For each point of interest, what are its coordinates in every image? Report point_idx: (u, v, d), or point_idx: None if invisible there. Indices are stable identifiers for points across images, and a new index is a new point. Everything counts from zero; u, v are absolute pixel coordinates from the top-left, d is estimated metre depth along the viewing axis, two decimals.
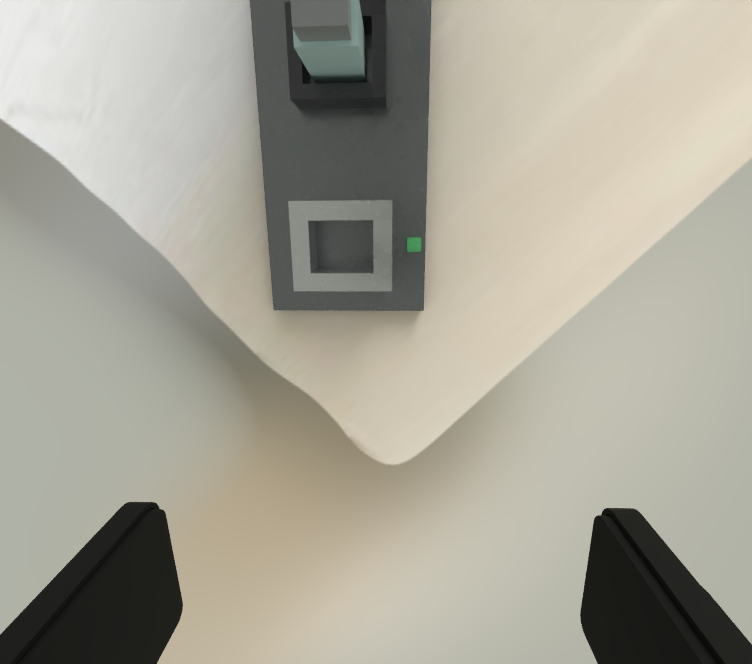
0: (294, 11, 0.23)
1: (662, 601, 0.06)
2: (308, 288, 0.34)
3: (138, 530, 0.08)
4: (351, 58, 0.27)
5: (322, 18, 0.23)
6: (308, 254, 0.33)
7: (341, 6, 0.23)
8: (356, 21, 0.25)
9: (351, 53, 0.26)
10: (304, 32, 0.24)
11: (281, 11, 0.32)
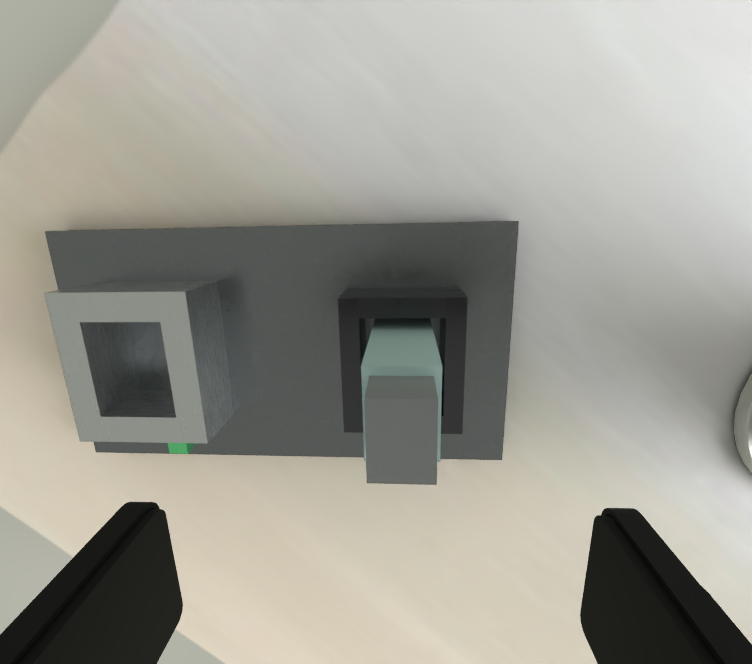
0: (387, 403, 0.13)
1: (662, 601, 0.06)
2: (54, 317, 0.20)
3: (138, 530, 0.08)
4: None
5: (376, 447, 0.14)
6: (108, 320, 0.20)
7: (393, 475, 0.14)
8: None
9: None
10: None
11: (472, 268, 0.22)
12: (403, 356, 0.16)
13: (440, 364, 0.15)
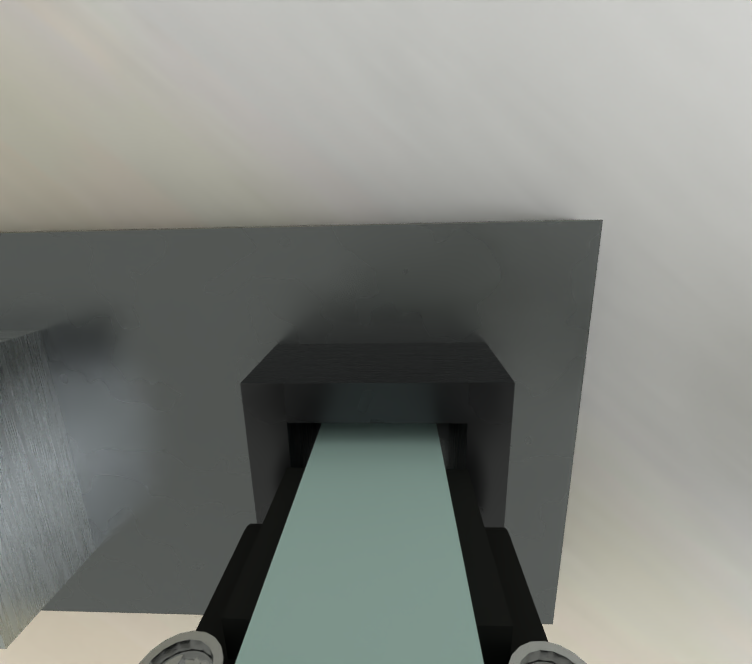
0: None
1: None
2: None
3: None
4: None
5: None
6: None
7: None
8: None
9: None
10: None
11: (511, 309, 0.12)
12: (371, 596, 0.06)
13: (479, 662, 0.05)
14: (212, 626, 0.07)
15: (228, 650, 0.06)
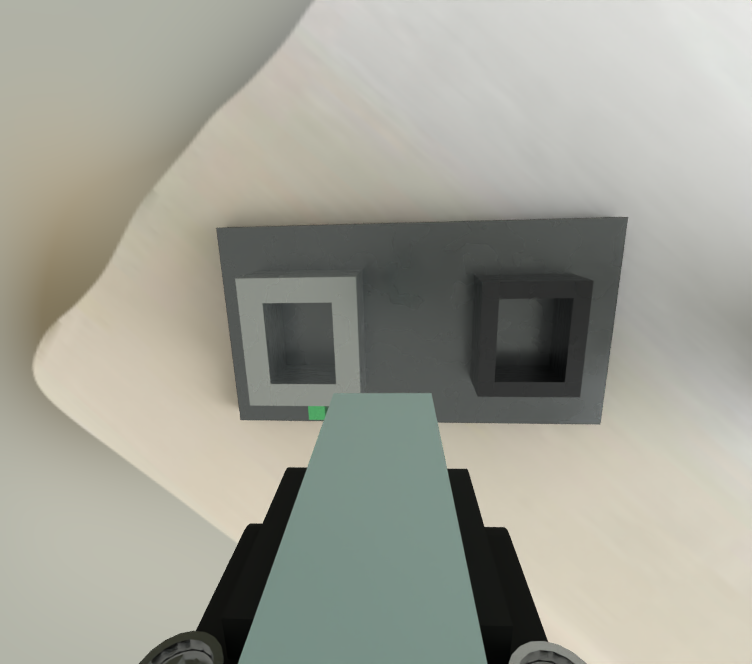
0: None
1: None
2: (241, 299, 0.24)
3: None
4: None
5: None
6: (287, 301, 0.24)
7: None
8: None
9: None
10: None
11: (585, 257, 0.26)
12: (373, 597, 0.06)
13: (482, 663, 0.05)
14: (212, 626, 0.07)
15: (228, 650, 0.06)
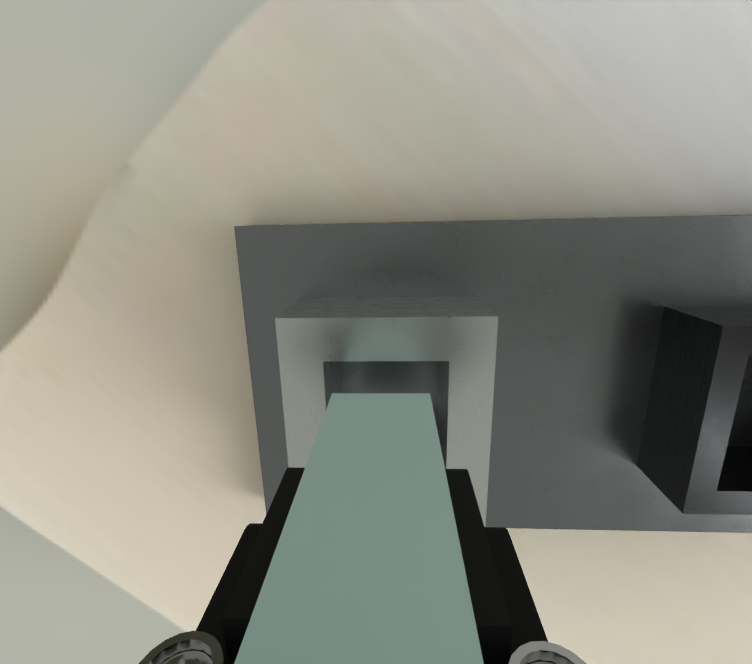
0: None
1: None
2: (285, 354, 0.14)
3: None
4: None
5: None
6: (368, 358, 0.14)
7: None
8: None
9: None
10: None
11: None
12: (370, 598, 0.06)
13: None
14: (212, 626, 0.07)
15: (228, 650, 0.06)
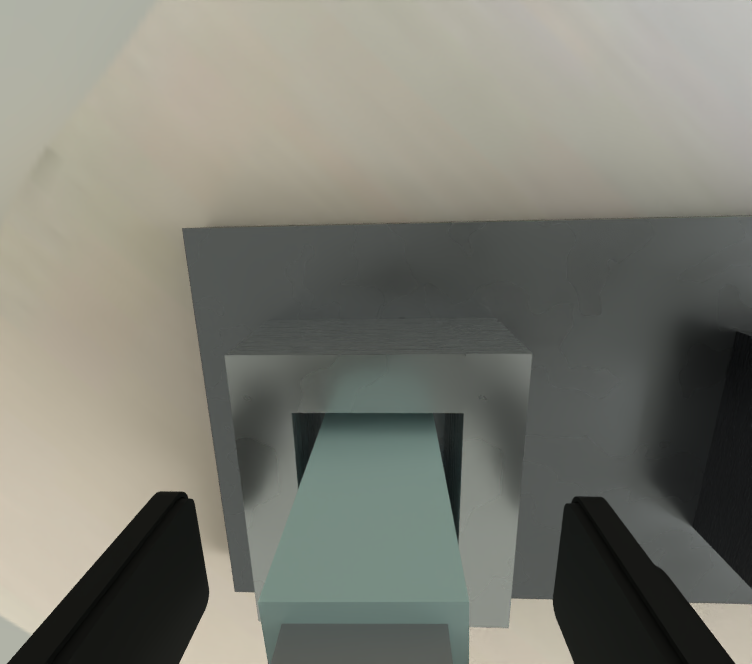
0: None
1: (619, 581, 0.07)
2: (240, 403, 0.10)
3: (171, 518, 0.08)
4: None
5: None
6: (353, 408, 0.10)
7: None
8: None
9: None
10: None
11: None
12: (372, 545, 0.07)
13: (463, 589, 0.06)
14: None
15: None
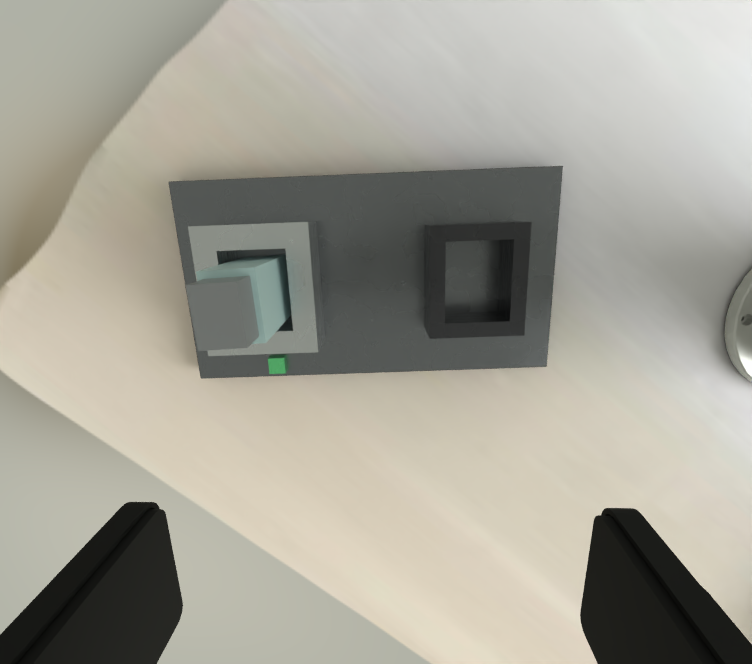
0: (202, 288, 0.19)
1: (662, 601, 0.06)
2: (195, 247, 0.25)
3: (138, 530, 0.08)
4: None
5: (200, 322, 0.19)
6: (241, 248, 0.25)
7: (216, 343, 0.19)
8: None
9: None
10: None
11: (526, 205, 0.27)
12: (233, 266, 0.21)
13: (254, 267, 0.21)
14: None
15: None
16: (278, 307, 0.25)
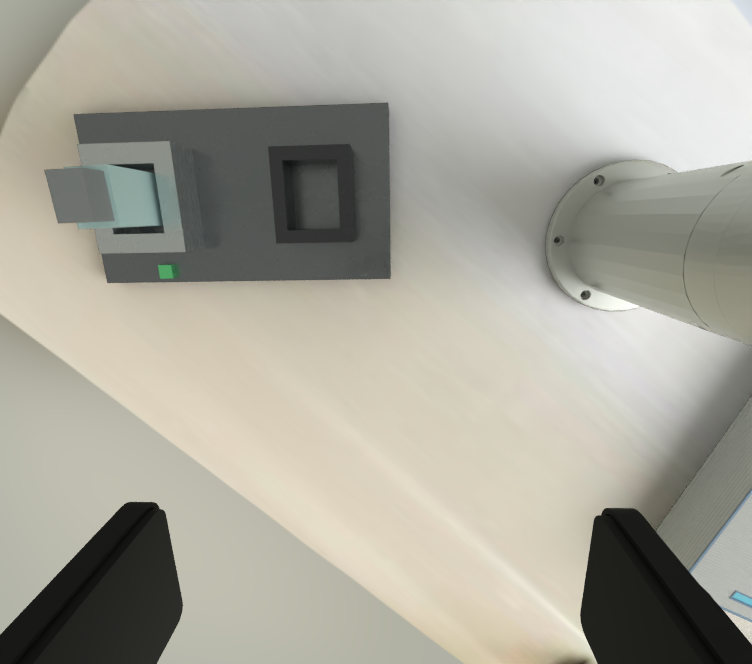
0: (56, 172, 0.25)
1: (662, 601, 0.06)
2: (83, 161, 0.31)
3: (138, 530, 0.08)
4: None
5: (57, 199, 0.26)
6: (119, 162, 0.31)
7: (70, 217, 0.26)
8: (96, 227, 0.28)
9: None
10: None
11: (361, 136, 0.33)
12: None
13: None
14: None
15: None
16: (146, 209, 0.31)
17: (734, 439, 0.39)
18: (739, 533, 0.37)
